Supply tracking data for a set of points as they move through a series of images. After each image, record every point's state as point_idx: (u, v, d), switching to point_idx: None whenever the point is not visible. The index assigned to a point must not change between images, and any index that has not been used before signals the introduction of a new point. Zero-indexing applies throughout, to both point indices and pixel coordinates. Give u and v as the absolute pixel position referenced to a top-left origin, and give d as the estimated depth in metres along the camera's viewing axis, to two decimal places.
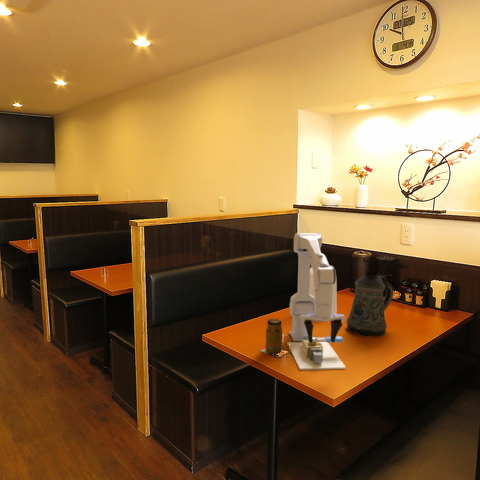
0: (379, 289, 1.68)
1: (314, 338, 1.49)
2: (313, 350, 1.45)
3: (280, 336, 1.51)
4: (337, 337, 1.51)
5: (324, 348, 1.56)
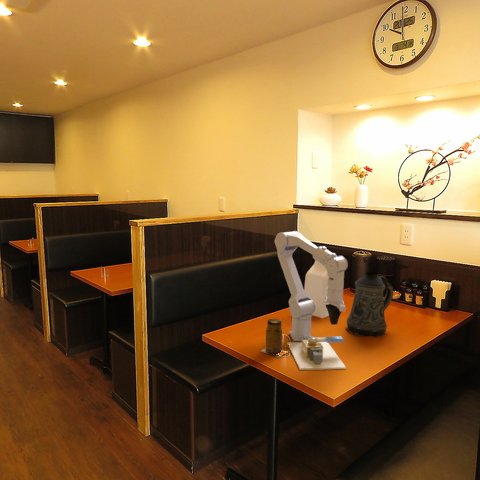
0: (379, 289, 1.68)
1: (314, 338, 1.49)
2: (313, 350, 1.45)
3: (280, 336, 1.51)
4: (337, 337, 1.51)
5: (324, 348, 1.56)
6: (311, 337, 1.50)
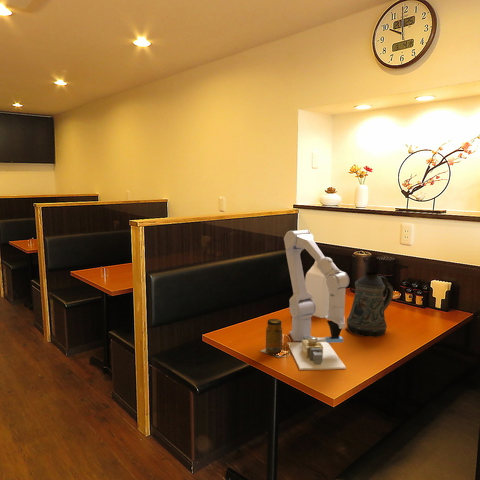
0: (379, 289, 1.68)
1: (314, 338, 1.49)
2: (313, 350, 1.45)
3: (280, 336, 1.51)
4: (337, 337, 1.51)
5: (324, 348, 1.56)
6: (311, 337, 1.50)
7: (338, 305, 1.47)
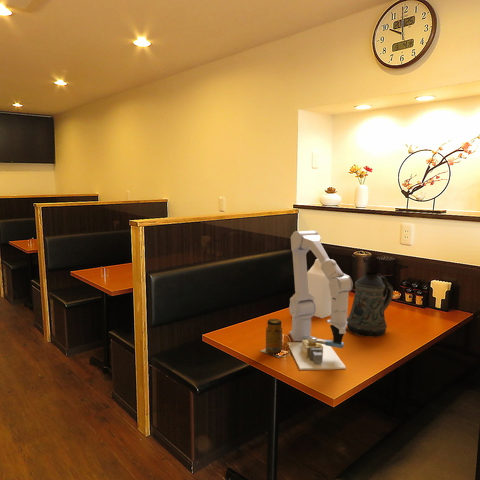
0: (379, 289, 1.68)
1: (313, 338, 1.49)
2: (313, 350, 1.45)
3: (280, 336, 1.51)
4: (338, 342, 1.46)
5: (324, 348, 1.56)
6: (312, 337, 1.50)
7: (340, 309, 1.43)
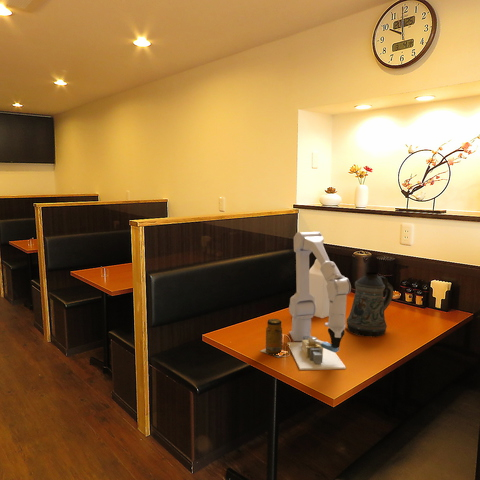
0: (379, 289, 1.68)
1: (313, 338, 1.49)
2: (313, 350, 1.45)
3: (280, 336, 1.51)
4: (333, 346, 1.43)
5: (324, 348, 1.56)
6: (313, 337, 1.50)
7: (337, 312, 1.40)
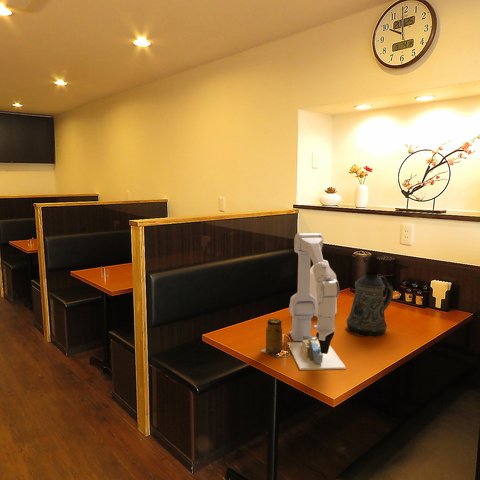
0: (379, 289, 1.68)
1: (311, 338, 1.49)
2: None
3: (280, 336, 1.51)
4: (316, 348, 1.41)
5: None
6: (314, 337, 1.50)
7: (324, 315, 1.37)
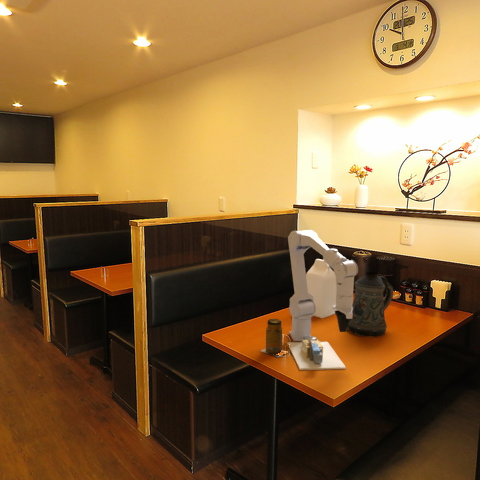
0: (379, 289, 1.68)
1: (311, 338, 1.49)
2: None
3: (280, 336, 1.51)
4: (316, 348, 1.41)
5: (324, 348, 1.56)
6: (314, 337, 1.50)
7: (346, 294, 1.42)
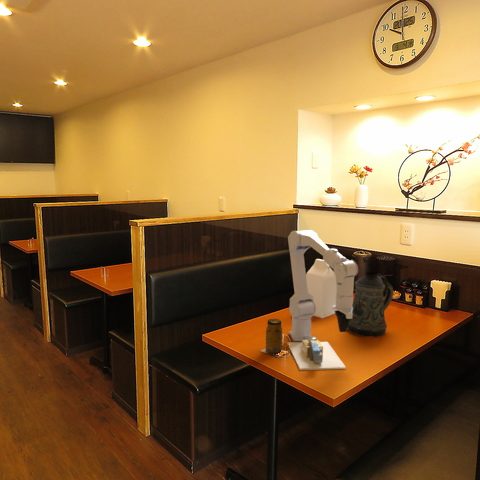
0: (379, 289, 1.68)
1: (311, 338, 1.49)
2: None
3: (280, 336, 1.51)
4: (316, 348, 1.41)
5: (324, 348, 1.56)
6: (314, 337, 1.50)
7: (346, 294, 1.42)
